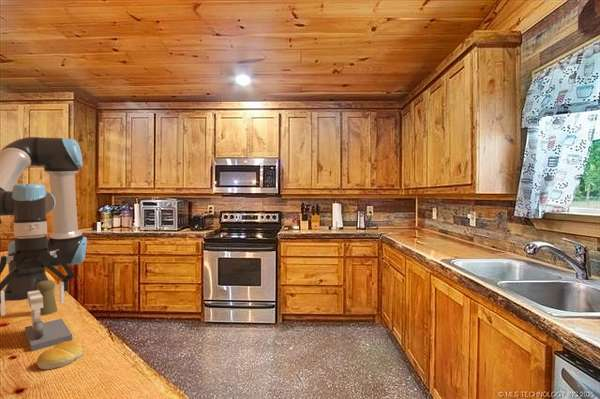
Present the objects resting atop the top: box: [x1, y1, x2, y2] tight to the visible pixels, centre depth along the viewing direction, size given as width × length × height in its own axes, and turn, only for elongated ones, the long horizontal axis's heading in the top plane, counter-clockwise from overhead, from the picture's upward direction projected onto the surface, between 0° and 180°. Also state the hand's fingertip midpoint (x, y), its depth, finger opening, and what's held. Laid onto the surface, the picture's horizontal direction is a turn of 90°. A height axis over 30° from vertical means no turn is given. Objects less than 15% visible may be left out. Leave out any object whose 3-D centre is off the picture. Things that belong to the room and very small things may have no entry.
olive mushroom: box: [36, 279, 58, 316], centre depth 114 cm, size 6×6×11 cm
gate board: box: [24, 318, 73, 352], centre depth 95 cm, size 17×9×2 cm, turn 44°
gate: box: [27, 290, 44, 338], centre depth 94 cm, size 12×3×10 cm, turn 44°
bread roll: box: [36, 340, 84, 370], centre depth 81 cm, size 8×9×4 cm
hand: (34, 308), depth 96 cm, fingers open, 13 cm apart
